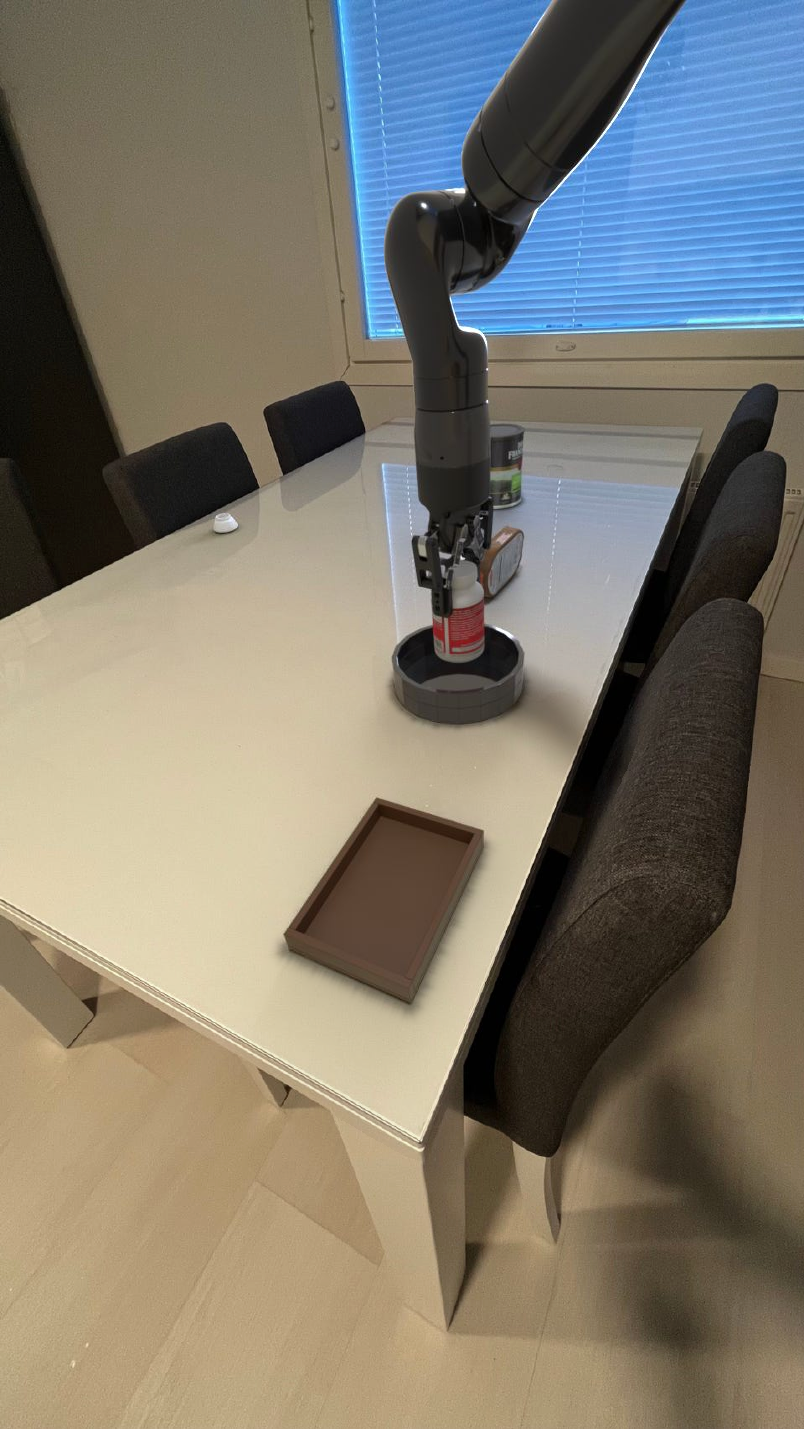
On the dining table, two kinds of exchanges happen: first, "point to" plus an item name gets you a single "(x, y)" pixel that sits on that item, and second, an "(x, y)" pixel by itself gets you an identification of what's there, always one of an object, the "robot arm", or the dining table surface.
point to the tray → (388, 897)
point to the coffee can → (506, 464)
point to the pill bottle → (461, 618)
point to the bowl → (458, 678)
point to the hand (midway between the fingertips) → (457, 602)
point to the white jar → (224, 523)
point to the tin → (501, 560)
